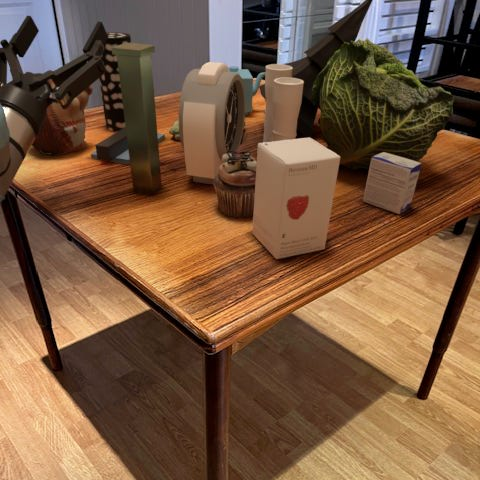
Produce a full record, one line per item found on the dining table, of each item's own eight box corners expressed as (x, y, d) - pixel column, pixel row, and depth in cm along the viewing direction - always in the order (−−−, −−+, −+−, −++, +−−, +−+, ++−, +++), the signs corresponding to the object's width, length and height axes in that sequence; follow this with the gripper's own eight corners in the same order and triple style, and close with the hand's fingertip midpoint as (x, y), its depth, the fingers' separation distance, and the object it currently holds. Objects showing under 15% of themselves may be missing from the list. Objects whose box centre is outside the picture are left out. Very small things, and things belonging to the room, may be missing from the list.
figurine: (103, 156, 102) (91, 81, 93) (26, 162, 99) (5, 84, 89) (99, 135, 113) (88, 65, 103) (30, 139, 109) (11, 68, 100)
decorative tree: (300, 154, 116) (409, 20, 100) (254, 117, 110) (362, -32, 93) (290, 134, 127) (386, 11, 111) (247, 100, 121) (343, -35, 105)
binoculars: (295, 182, 94) (306, 84, 83) (269, 182, 94) (276, 84, 83) (282, 151, 108) (290, 64, 96) (259, 151, 107) (264, 63, 96)
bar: (110, 161, 98) (107, 146, 96) (97, 159, 98) (94, 144, 96) (156, 130, 114) (155, 117, 112) (144, 128, 115) (143, 116, 113)
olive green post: (153, 196, 87) (140, 50, 72) (129, 192, 88) (111, 47, 73) (165, 186, 91) (154, 45, 76) (142, 182, 92) (126, 42, 77)
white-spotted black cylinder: (123, 119, 123) (112, 31, 110) (146, 126, 119) (138, 35, 107) (99, 127, 118) (84, 35, 105) (122, 134, 114) (110, 39, 101)
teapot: (202, 104, 137) (201, 60, 130) (262, 104, 138) (265, 61, 131) (204, 120, 124) (203, 73, 117) (271, 120, 126) (274, 73, 119)
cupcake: (274, 216, 82) (279, 160, 76) (221, 222, 80) (221, 165, 74) (257, 194, 89) (260, 140, 83) (208, 199, 87) (207, 144, 81)
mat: (128, 164, 99) (128, 159, 99) (91, 158, 101) (90, 153, 101) (165, 138, 113) (164, 134, 112) (131, 133, 115) (130, 129, 114)
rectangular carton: (275, 261, 71) (284, 163, 61) (250, 234, 77) (255, 141, 68) (326, 250, 74) (342, 155, 64) (299, 224, 80) (309, 135, 71)
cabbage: (403, 212, 100) (474, 113, 82) (296, 186, 95) (347, 75, 77) (382, 144, 115) (438, 49, 97) (288, 119, 110) (330, 13, 92)
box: (411, 208, 87) (423, 162, 81) (399, 215, 84) (411, 169, 79) (373, 194, 91) (383, 150, 85) (361, 201, 88) (370, 156, 83)
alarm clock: (220, 193, 89) (220, 76, 76) (178, 187, 91) (171, 72, 78) (245, 161, 102) (248, 56, 90) (208, 156, 104) (206, 53, 91)
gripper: (-38, 130, 79) (17, 40, 85) (94, 149, 73) (141, 52, 80) (-71, 93, 72) (-8, -1, 79) (72, 112, 66) (125, 9, 73)
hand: (67, 26), depth 79 cm, fingers open, 13 cm apart
